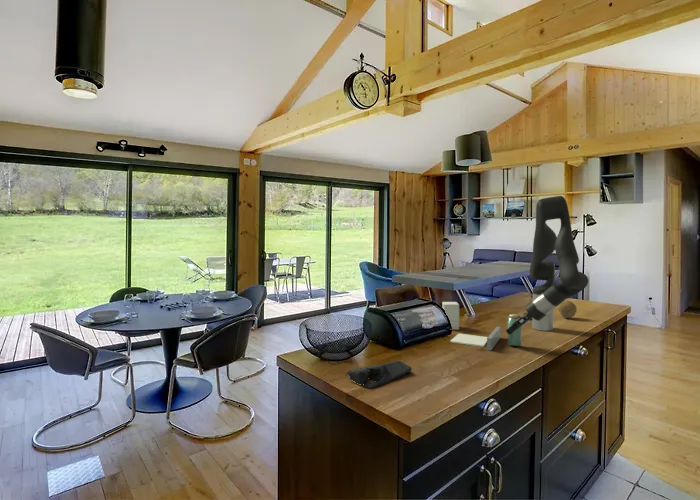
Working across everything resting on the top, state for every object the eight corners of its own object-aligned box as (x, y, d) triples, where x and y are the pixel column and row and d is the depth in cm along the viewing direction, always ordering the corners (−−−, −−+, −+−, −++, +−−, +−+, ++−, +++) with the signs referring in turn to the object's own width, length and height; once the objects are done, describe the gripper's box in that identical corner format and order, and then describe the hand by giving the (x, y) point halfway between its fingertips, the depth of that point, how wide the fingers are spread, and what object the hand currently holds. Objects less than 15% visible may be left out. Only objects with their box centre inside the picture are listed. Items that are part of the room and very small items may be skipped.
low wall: (496, 337, 176) (496, 326, 176) (500, 337, 175) (500, 326, 175) (486, 350, 157) (486, 338, 157) (490, 350, 156) (491, 338, 156)
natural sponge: (562, 315, 219) (562, 298, 218) (579, 318, 212) (579, 300, 211) (555, 318, 213) (555, 300, 212) (572, 321, 206) (573, 302, 206)
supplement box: (456, 326, 197) (456, 301, 197) (459, 329, 190) (459, 304, 189) (442, 325, 198) (442, 301, 197) (444, 329, 191) (444, 304, 190)
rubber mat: (458, 334, 181) (458, 333, 181) (489, 338, 174) (489, 337, 174) (450, 342, 169) (450, 340, 169) (483, 346, 162) (483, 345, 162)
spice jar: (508, 341, 166) (508, 313, 165) (521, 342, 163) (522, 314, 163) (506, 344, 161) (507, 315, 161) (520, 346, 159) (520, 316, 158)
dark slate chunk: (419, 376, 131) (419, 362, 131) (367, 392, 119) (366, 376, 118) (389, 363, 144) (389, 351, 143) (339, 376, 131) (339, 363, 131)
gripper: (538, 296, 162) (509, 320, 170) (528, 301, 151) (497, 327, 159) (552, 310, 159) (521, 334, 167) (543, 317, 148) (510, 342, 156)
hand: (510, 331), depth 163 cm, fingers closed on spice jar, 5 cm apart
